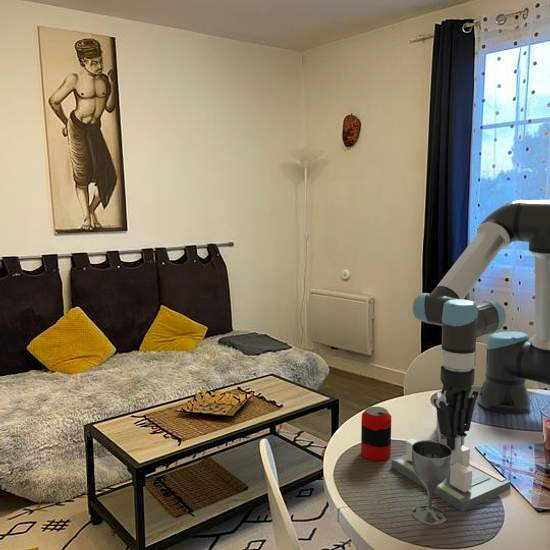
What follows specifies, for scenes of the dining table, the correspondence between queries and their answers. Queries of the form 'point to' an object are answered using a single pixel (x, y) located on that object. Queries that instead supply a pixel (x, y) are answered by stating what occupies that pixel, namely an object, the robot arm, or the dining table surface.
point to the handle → (409, 448)
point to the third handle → (461, 477)
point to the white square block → (464, 456)
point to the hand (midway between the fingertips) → (453, 460)
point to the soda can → (376, 434)
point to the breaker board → (482, 489)
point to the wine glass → (430, 476)
